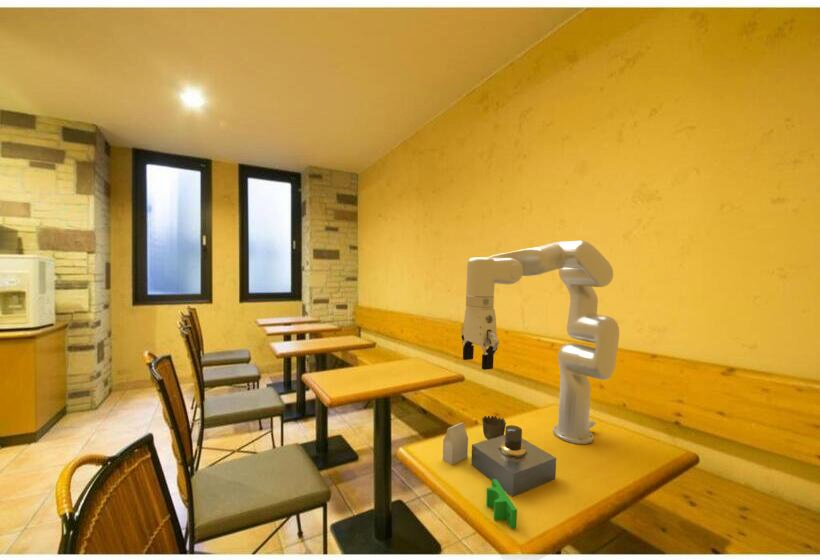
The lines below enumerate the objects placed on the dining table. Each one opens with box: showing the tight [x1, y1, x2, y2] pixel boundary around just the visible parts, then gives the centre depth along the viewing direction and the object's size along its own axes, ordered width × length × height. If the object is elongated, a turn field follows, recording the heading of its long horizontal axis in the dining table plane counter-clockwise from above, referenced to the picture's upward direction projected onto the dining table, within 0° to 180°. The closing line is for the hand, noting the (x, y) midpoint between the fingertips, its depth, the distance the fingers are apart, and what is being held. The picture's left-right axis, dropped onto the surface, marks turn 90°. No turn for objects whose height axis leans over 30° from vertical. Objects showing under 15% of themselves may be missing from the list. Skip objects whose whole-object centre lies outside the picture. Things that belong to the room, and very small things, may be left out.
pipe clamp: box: [485, 479, 518, 530], centre depth 83 cm, size 11×4×5 cm, turn 9°
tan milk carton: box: [442, 422, 469, 466], centre depth 105 cm, size 4×7×10 cm, turn 130°
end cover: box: [500, 424, 526, 458], centre depth 99 cm, size 7×7×11 cm
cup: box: [481, 415, 507, 440], centre depth 114 cm, size 8×7×8 cm
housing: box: [470, 434, 557, 498], centre depth 99 cm, size 16×16×6 cm
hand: (477, 364), depth 98 cm, fingers open, 9 cm apart
